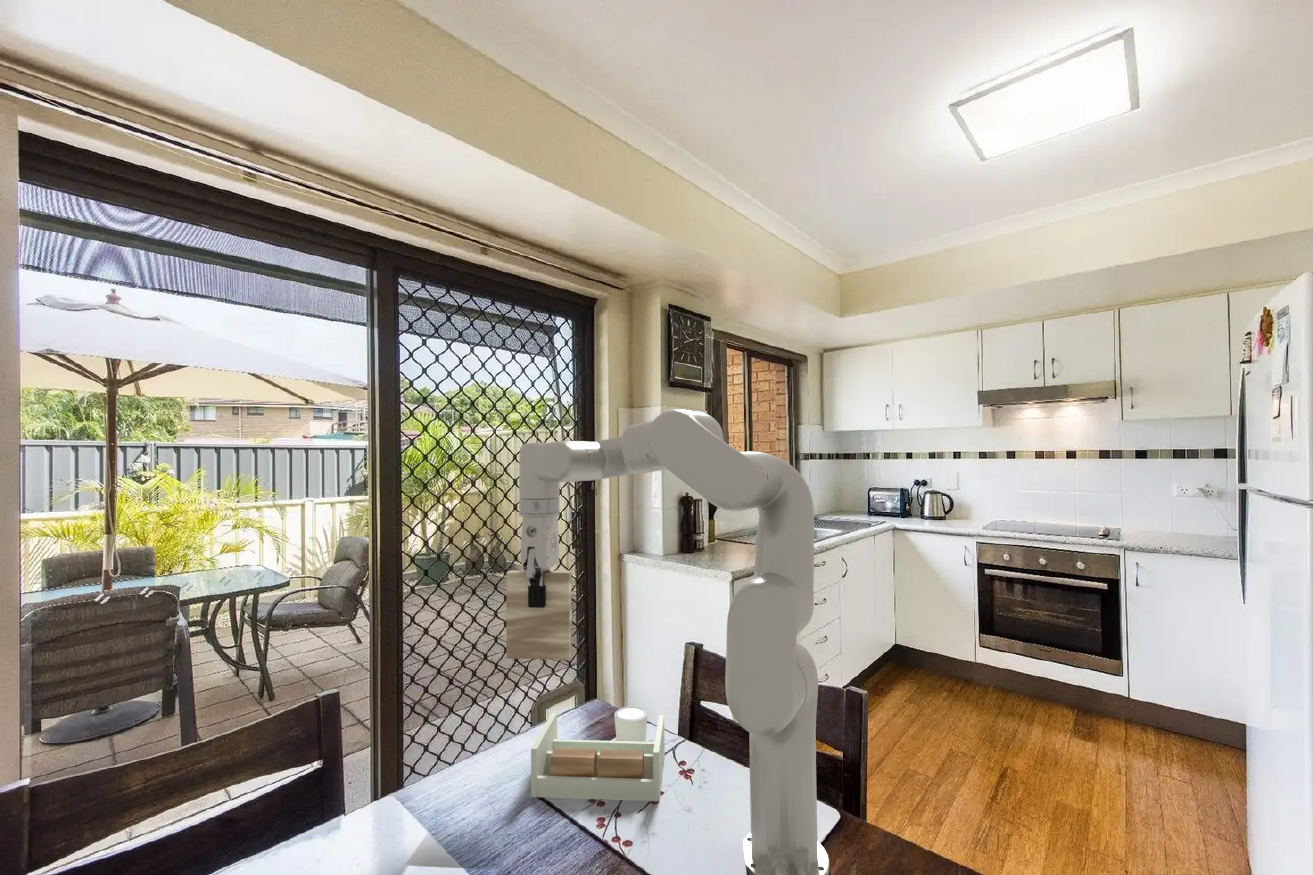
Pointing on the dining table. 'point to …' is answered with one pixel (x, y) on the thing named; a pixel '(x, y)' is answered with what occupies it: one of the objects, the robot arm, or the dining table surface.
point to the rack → (597, 786)
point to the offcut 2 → (621, 764)
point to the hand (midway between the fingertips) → (539, 604)
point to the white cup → (631, 724)
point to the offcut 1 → (574, 762)
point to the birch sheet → (539, 618)
